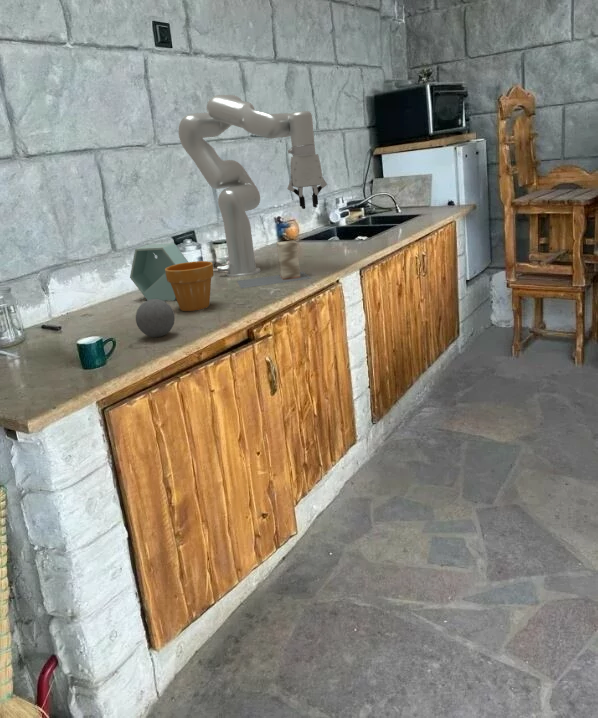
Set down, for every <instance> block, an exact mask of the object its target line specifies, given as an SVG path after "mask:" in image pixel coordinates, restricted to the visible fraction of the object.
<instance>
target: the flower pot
mask: <svg viewBox="0 0 598 718" xmlns="http://www.w3.org/2000/svg"><path fill="white" fill-rule="evenodd" d="M165 272H166V278H167V281H168V282H170V283H171V286H172V288H173V291H174V294H175V297H176V301H177V302H176V303H177V304H178V307H179V309H180V310H181V311H182V312H183V311H184V312H194V311H195V310H196V311H199V310H204V308H205V309H206V308H207V309H208V308H209V306H210V301H211V288H212V286H211V285H212V278H213V277H214V274H215V273H214V264H213V262H211V261H206V260H201V261H200V260H199V261H188V262H186V263H180V264H176V265H172V266H169V267H167V268H166V269H165Z"/></svg>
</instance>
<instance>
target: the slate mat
mask: <svg viewBox="0 0 598 718" xmlns="http://www.w3.org/2000/svg"><path fill="white" fill-rule="evenodd" d="M311 279H312V277H310V275H308V274H307V273H306V272H305V271H300V278H294V279H287V280H283V279H282V278H281V277H280V274H276V275H269V276H262V277H255V278H247V279H240V280H236V283H237V284H238V286H239V288H240V289H247V288H254V287H261V286H268V285H274V284H283V283H289V282H298V281H305V280H311Z"/></svg>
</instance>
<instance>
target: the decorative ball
mask: <svg viewBox="0 0 598 718" xmlns="http://www.w3.org/2000/svg"><path fill="white" fill-rule="evenodd" d="M175 319H176V318H175V313H174V310H173V307H172V306H170V304H168V303H167V302H166V301H162V300H159V299H151V300H147V299H146V300H145V301H144V302H142V303H141V304H140V305H139V307H138V309H137V311H136V313H135V323H136V326H137V327H138V329H139V330H140V331H141V333H142V334H143V335H145V336H147V337H151V338H159V337H164V336H165V335H167V334H169V332H170V331H171V330H172V329H173V327H174V325H175V321H176V320H175Z"/></svg>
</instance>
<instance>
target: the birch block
mask: <svg viewBox="0 0 598 718" xmlns="http://www.w3.org/2000/svg"><path fill="white" fill-rule="evenodd" d="M276 250H277V257H278V267H279V275H280V277H281V278H282V279H283V280H287V279H294V278H300V272H301V270H300V269H301V268H300V261H299V260H300V259H299V252H298V251H299V250H298V242H297V241H296V240H288V241H287V240H286V241H279V242H278V241H277V242H276Z"/></svg>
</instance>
